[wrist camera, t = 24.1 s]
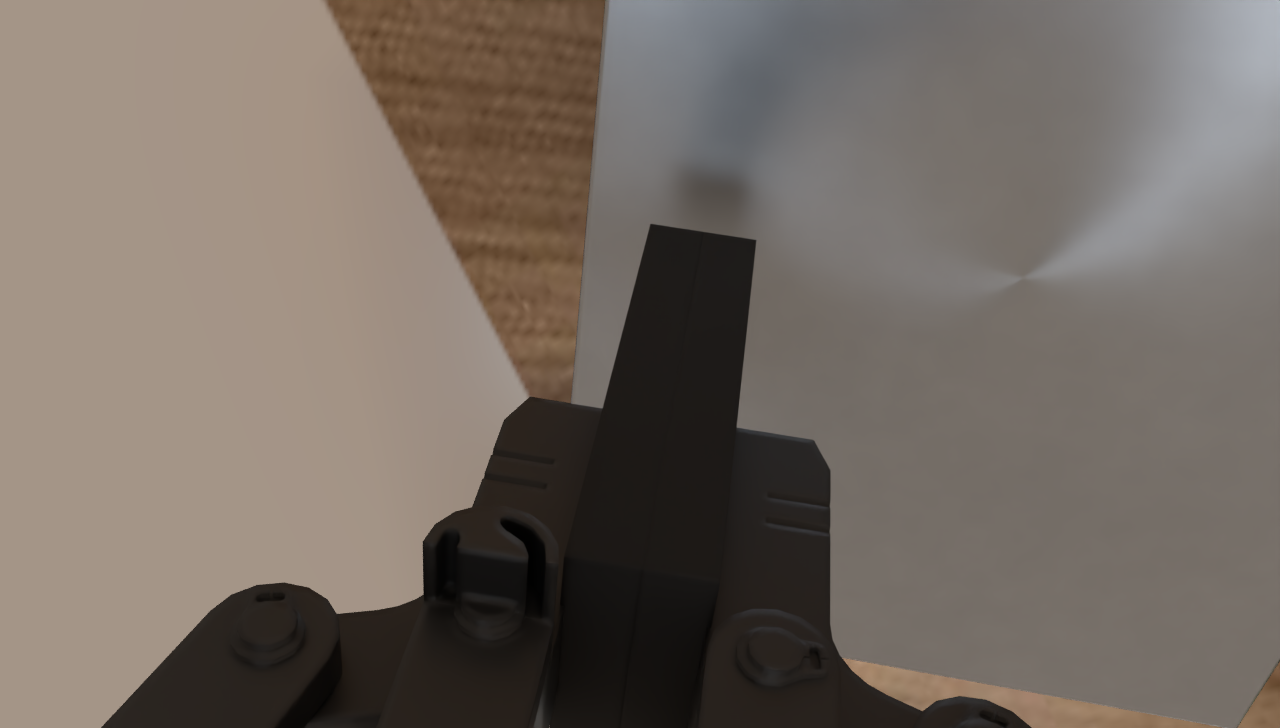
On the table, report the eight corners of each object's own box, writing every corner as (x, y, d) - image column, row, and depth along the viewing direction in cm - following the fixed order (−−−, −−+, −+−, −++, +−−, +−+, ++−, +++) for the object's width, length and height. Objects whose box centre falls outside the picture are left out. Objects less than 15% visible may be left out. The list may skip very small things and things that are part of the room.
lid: (560, 580, 26) (553, 606, 25) (656, -518, 15) (647, -520, 14) (1227, 700, 25) (1237, 731, 25) (1886, -366, 14) (1936, -361, 13)
